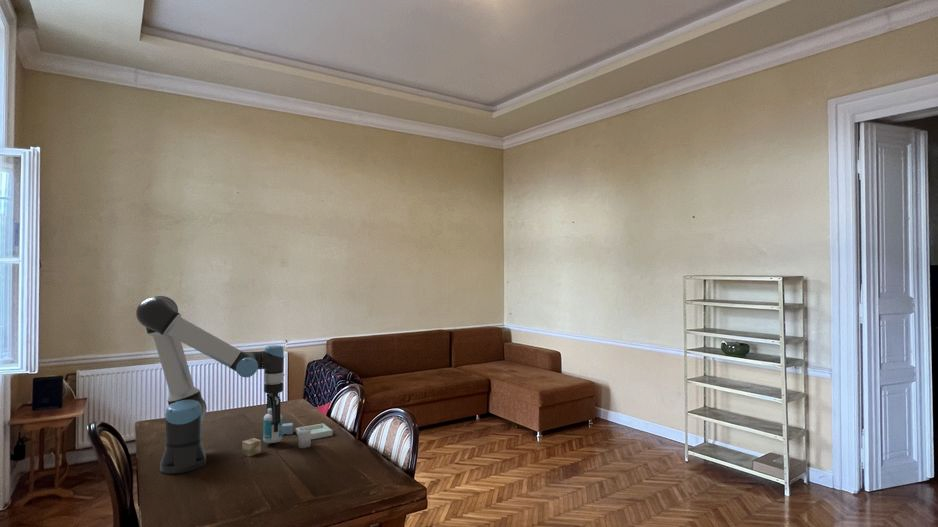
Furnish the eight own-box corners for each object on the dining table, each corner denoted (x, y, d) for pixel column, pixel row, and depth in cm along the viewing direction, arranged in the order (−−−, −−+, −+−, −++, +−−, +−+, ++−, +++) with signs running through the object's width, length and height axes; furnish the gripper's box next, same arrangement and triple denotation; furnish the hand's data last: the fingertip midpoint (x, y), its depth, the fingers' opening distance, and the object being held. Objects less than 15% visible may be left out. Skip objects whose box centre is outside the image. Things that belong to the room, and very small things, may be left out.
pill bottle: (277, 443, 211) (278, 411, 211) (260, 443, 211) (260, 410, 211) (284, 438, 218) (285, 406, 219) (267, 437, 219) (268, 406, 219)
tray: (304, 440, 219) (304, 435, 219) (295, 433, 229) (295, 428, 229) (332, 435, 226) (332, 430, 226) (323, 428, 236) (323, 423, 236)
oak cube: (249, 456, 201) (249, 443, 201) (242, 453, 204) (242, 441, 204) (260, 452, 205) (260, 440, 205) (253, 450, 208) (253, 437, 208)
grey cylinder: (300, 448, 209) (300, 434, 209) (296, 445, 213) (296, 431, 213) (312, 446, 212) (312, 432, 212) (308, 443, 216) (308, 429, 216)
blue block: (278, 435, 226) (278, 426, 227) (278, 432, 230) (278, 424, 230) (292, 434, 228) (292, 425, 228) (292, 431, 232) (292, 422, 232)
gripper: (289, 386, 209) (288, 441, 209) (276, 377, 226) (275, 429, 225) (270, 388, 205) (269, 445, 204) (259, 379, 222) (258, 432, 221)
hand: (272, 436), depth 215 cm, fingers closed on pill bottle, 7 cm apart
